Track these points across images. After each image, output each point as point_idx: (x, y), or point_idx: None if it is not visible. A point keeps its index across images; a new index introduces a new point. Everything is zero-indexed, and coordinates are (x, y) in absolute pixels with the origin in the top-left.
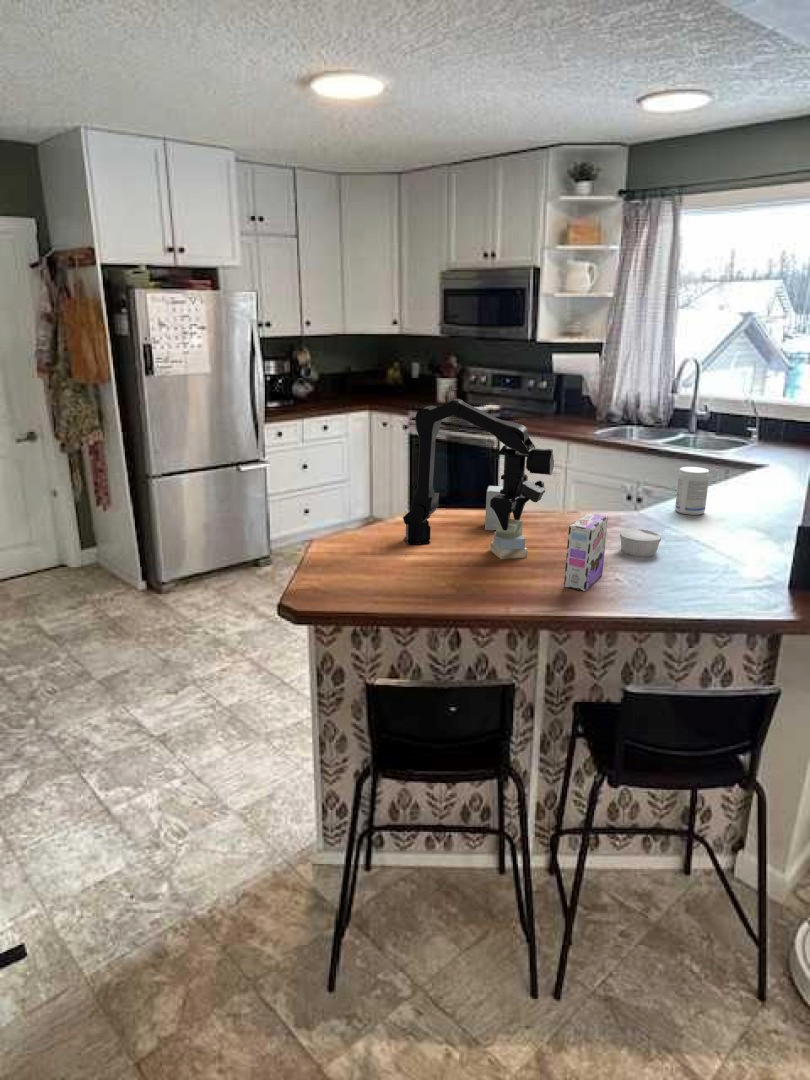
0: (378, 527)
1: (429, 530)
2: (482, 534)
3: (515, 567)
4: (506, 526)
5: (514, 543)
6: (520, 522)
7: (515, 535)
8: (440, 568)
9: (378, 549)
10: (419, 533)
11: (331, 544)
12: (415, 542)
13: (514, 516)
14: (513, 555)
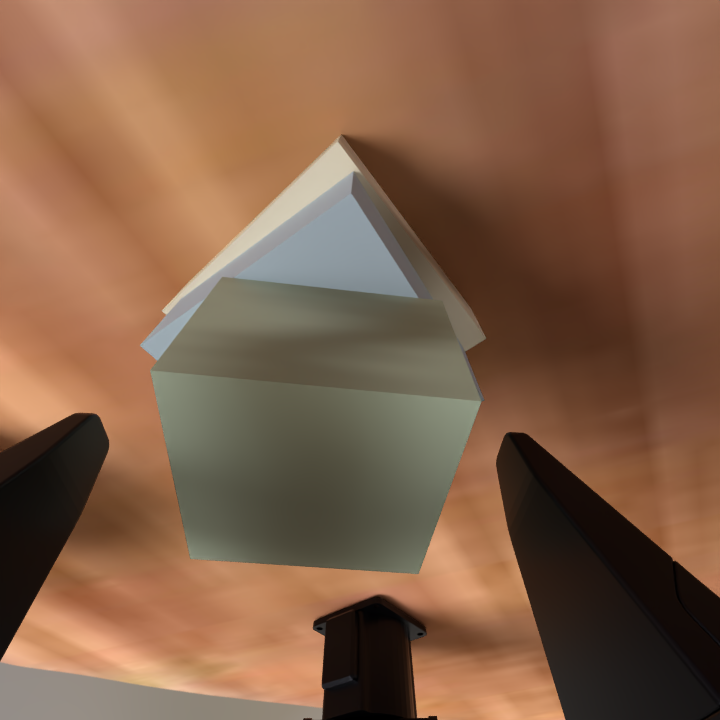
0: (299, 698)
1: (356, 657)
2: (111, 497)
3: (628, 149)
4: (566, 478)
5: (413, 280)
6: (248, 381)
7: (411, 315)
8: (685, 499)
9: (501, 659)
10: (404, 664)
11: (496, 715)
12: (408, 626)
13: (75, 510)
14: (418, 241)
